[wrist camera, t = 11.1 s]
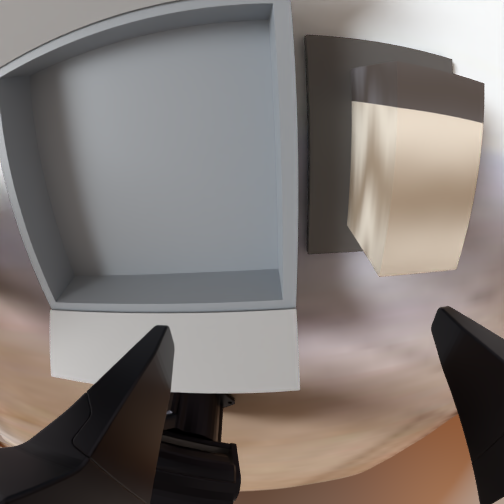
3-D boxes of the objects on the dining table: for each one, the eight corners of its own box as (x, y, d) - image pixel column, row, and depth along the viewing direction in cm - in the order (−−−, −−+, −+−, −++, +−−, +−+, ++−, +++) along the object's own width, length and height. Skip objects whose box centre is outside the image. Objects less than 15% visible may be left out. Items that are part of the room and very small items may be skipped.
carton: (288, 312, 23) (299, 393, 17) (88, 314, 24) (53, 379, 17) (277, -39, 11) (292, -104, 4) (26, 25, 11) (-49, 22, 5)
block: (412, 223, 19) (456, 269, 14) (347, 225, 19) (379, 276, 14) (423, 79, 14) (484, 83, 9) (350, 68, 14) (396, 61, 9)
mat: (429, 243, 20) (433, 247, 20) (306, 249, 21) (308, 254, 20) (447, 59, 14) (452, 59, 13) (304, 36, 14) (306, 34, 13)
